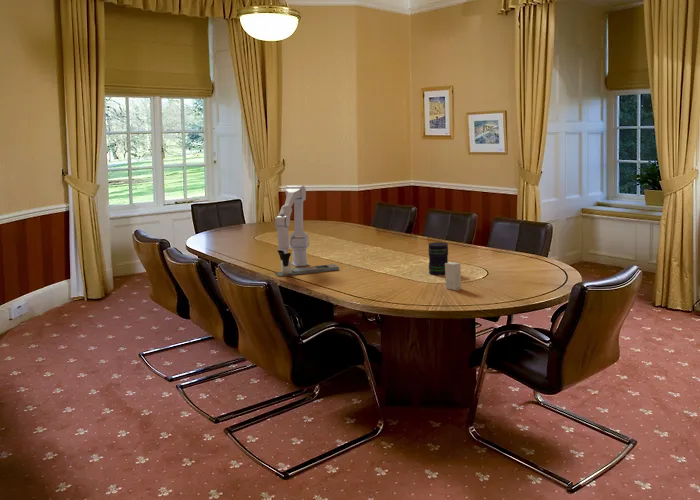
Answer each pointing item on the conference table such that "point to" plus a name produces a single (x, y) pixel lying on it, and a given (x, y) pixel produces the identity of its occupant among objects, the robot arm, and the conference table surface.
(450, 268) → the skincare box
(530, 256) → the conference table surface
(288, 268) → the pale grey square block
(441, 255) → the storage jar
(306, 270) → the rail
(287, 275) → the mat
